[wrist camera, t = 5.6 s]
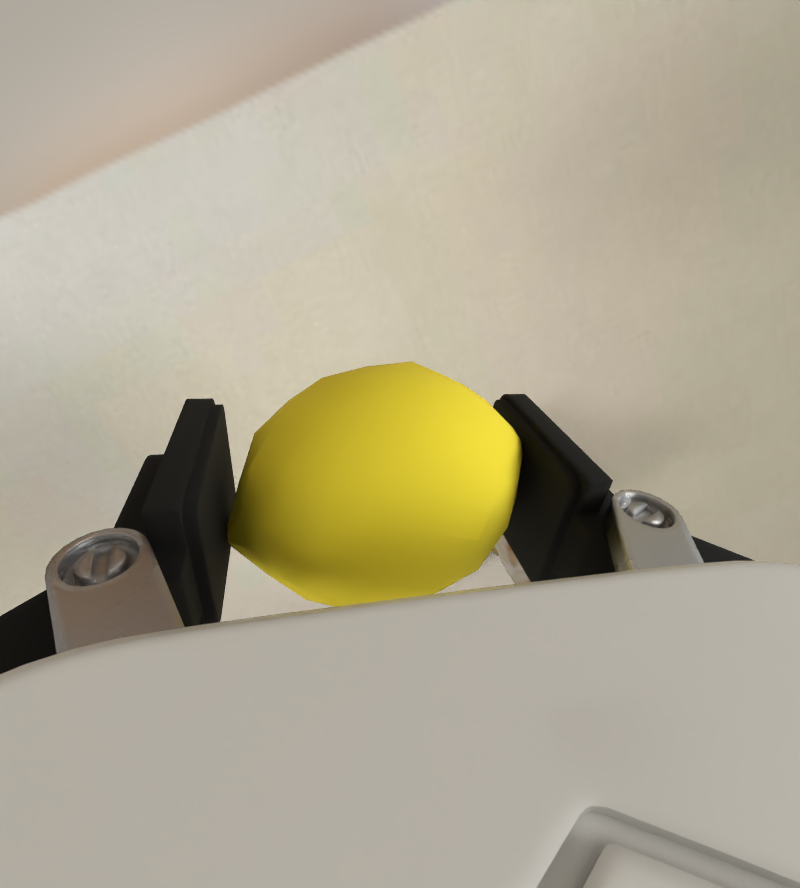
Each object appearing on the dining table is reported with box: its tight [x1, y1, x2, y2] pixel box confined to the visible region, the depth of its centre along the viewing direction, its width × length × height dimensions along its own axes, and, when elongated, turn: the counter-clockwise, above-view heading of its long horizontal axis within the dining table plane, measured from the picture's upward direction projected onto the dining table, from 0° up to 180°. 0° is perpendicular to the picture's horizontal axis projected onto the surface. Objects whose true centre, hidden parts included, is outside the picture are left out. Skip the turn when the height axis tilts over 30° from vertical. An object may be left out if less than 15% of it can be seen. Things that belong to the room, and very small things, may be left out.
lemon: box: [227, 362, 522, 607], centre depth 10 cm, size 7×5×5 cm
